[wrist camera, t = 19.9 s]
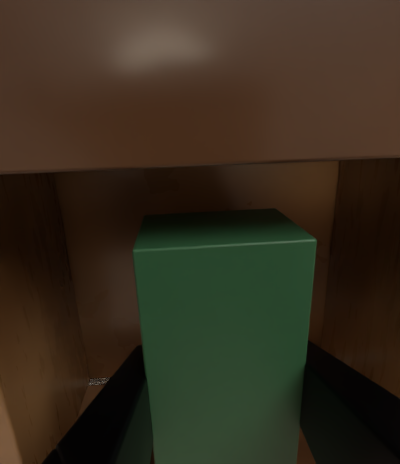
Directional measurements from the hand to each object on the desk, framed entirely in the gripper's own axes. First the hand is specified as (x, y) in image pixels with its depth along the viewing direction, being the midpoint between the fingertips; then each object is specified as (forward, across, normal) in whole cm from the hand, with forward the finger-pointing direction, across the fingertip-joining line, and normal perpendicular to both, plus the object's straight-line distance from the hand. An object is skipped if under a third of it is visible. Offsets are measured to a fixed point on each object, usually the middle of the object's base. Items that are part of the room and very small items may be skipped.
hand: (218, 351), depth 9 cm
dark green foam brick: (+1, 0, 0) cm, 1 cm away
